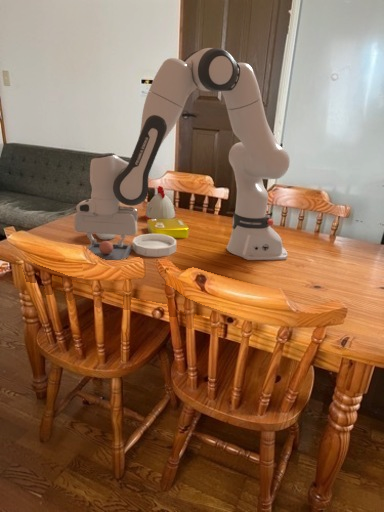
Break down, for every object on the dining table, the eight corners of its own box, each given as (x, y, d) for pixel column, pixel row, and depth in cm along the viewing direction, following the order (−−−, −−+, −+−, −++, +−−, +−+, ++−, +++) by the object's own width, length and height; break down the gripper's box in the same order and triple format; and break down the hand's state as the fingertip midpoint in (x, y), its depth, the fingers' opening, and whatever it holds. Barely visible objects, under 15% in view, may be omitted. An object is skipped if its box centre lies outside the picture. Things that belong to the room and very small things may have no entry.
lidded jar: (113, 243, 131) (113, 219, 127) (87, 239, 132) (85, 215, 129) (124, 234, 141) (124, 211, 137) (99, 231, 142) (98, 208, 139)
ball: (115, 250, 121) (113, 238, 119) (112, 255, 116) (109, 243, 115) (102, 252, 121) (99, 239, 119) (99, 257, 117) (96, 244, 115)
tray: (131, 250, 125) (131, 244, 125) (123, 265, 113) (123, 260, 112) (92, 247, 125) (92, 242, 125) (80, 263, 112) (79, 257, 112)
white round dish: (177, 242, 136) (177, 235, 134) (174, 258, 121) (174, 250, 120) (137, 239, 135) (137, 232, 134) (129, 255, 121) (129, 247, 120)
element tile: (189, 238, 142) (190, 227, 140) (153, 240, 137) (153, 228, 136) (179, 227, 155) (180, 216, 153) (146, 228, 150) (146, 217, 149)
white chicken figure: (169, 213, 173) (170, 183, 167) (179, 221, 161) (181, 189, 156) (141, 215, 167) (142, 184, 162) (150, 223, 156) (151, 190, 150)
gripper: (139, 205, 115) (139, 244, 120) (77, 201, 115) (80, 240, 120) (136, 210, 109) (136, 251, 115) (71, 205, 109) (74, 247, 115)
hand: (107, 245), depth 117 cm, fingers open, 8 cm apart
